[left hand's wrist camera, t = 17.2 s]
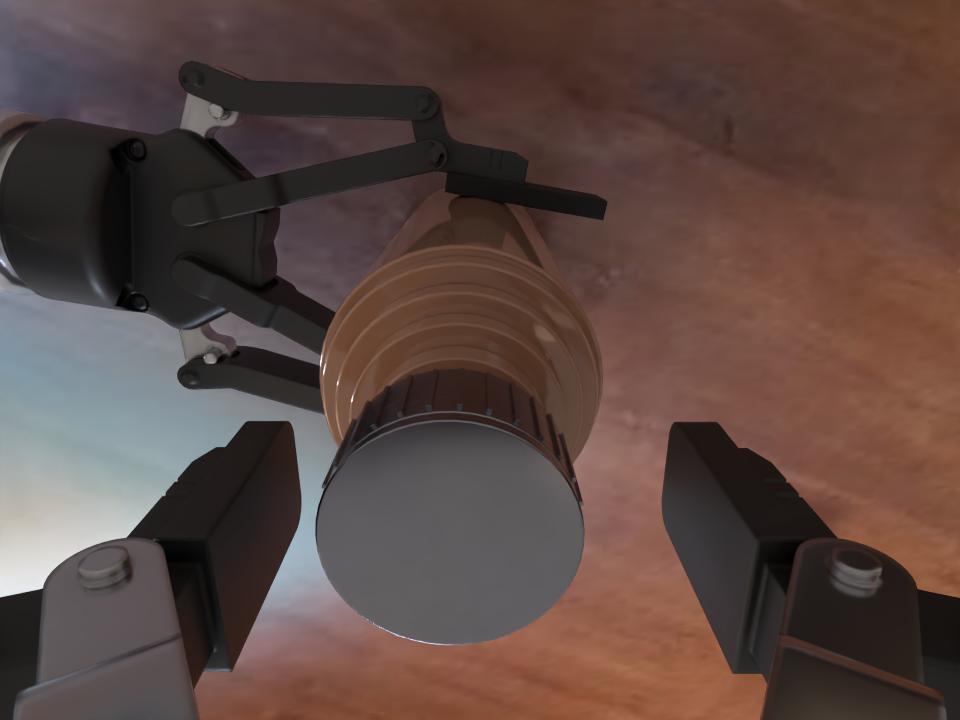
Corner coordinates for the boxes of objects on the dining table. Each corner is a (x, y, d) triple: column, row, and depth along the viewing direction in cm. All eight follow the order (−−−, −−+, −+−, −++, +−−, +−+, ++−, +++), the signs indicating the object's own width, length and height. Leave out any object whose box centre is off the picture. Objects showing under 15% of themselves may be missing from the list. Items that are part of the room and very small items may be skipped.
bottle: (413, 169, 32) (247, 271, 9) (553, 197, 32) (729, 363, 10) (392, 305, 34) (221, 655, 12) (523, 330, 35) (604, 711, 12)
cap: (358, 573, 13) (336, 656, 11) (320, 374, 11) (286, 429, 9) (573, 558, 13) (591, 639, 11) (565, 355, 11) (584, 405, 9)
